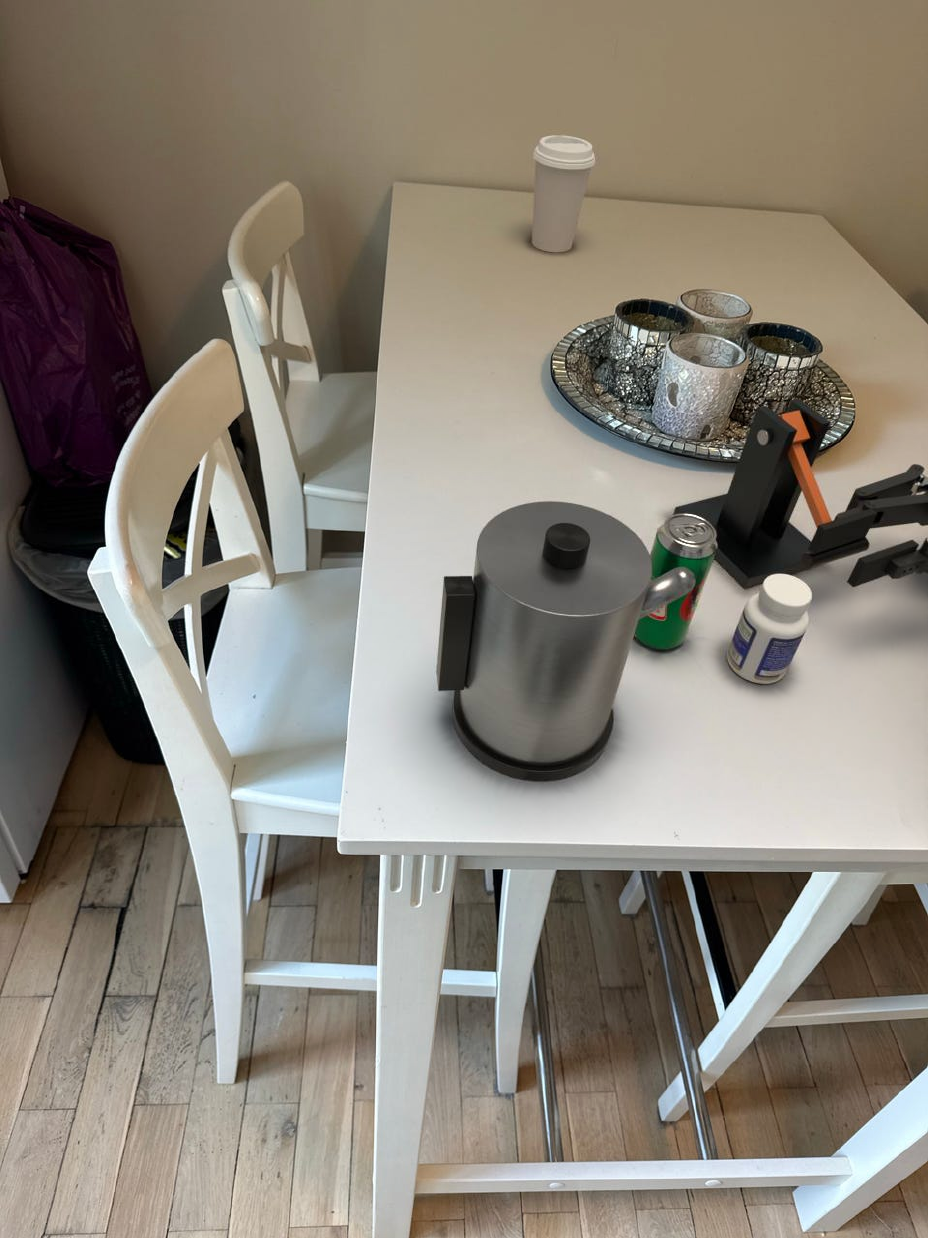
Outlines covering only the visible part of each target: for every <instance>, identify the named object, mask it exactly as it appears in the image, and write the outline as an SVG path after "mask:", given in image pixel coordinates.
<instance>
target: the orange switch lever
mask: <svg viewBox="0 0 928 1238" xmlns="http://www.w3.org/2000/svg"><path fill="white" fill-rule="evenodd" d="M779 416H780V417H781V418H782V419H784V420H785V421H786V422H787V423H789V424H790V425H791V426H793V427H794V428H795V429H796V430H797V433H796V435H795V438H794V440H793V443H792V445H791V448H790V450H789V453H788V456H789V459H790V461H791V464H792V467H793V469H794V472H795V474H796V477H797V479H798V482H799V484H800V487H801V489H802V491H801V493H802V494H803V497H804V499H805V503H806V504H807V507H808V510H809V512H810V515H811V517H812V520H813V522H814V525H815V527H816V529H817V528H818V526H819V525H821V524H824V523H827V522H830V521H833V520H832V517H831V514H830V513H829V510H828V507H827V505H826V502H825V500H824V497H823V495H822V492H821V490H820V487H819V485H818V482H817V479H816V477H815V475H814V472H813V470H812V468H811V467H810V464H809V462H808V459H807V457H806V454H805V452H804V449H803V447H802V444H801V443H803V442H804V441H806V440H808V439H809V438H810V436H809V433H808V431H807V428H806V426H805V423H804V421H803V418H802V416H801V413H800V411H794V412H790V413H786V412H785V413H781V414H779ZM869 548H870V541H869V539H868V538H867V536H866V537H864V538H861V539H858V540H855V541H852V542H849V543H846V544H843V545H840V546H837V547H834V548H831V549H828V550H825V551H822V552H819V553H816V554H813V553H812V552H807V553H804V554H803V555H802V556H801V564H802V565H803V567H805V568H807V569H806V570H809V569H813V568H815V567H819V566H822V565H826V564H828V563H829V564H830V563H832V562H836V561H838V560H841V559H845V558H847V557H850V556H854V555H858V554H860V553H863V552H866V551H868V550H869Z"/></svg>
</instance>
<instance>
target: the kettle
mask: <svg viewBox="0 0 928 1238" xmlns="http://www.w3.org/2000/svg"><path fill="white" fill-rule="evenodd" d="M475 549H476V550H475V557H474V558H475V559H474V566H473V567H474V568H473V576H472V575H444V576H443V584H442V597H441V606H440V607H441V609H440V621H439V635H438V645H437V658H436V671H435V672H436V673H435V675H436V682H437V683H436V684H437V691H438V692H452V691H453V699H452V721H453V726H454V728H455V731H456V733H457V736H458V737H459V739H460V741H461V742H462V743H463V745H464V746H465V748H466V749H467V750H468V751H469V752H470V753H471V755H473V757H475V758H476V759H478V760H479V762H481V763H482V764H484V765H485V766H487V767H489V768H490V769H492V770H494V771H496V772H498V773H500V774H503V775H505V776H509V777H511V778H515V779H519V780H525V781H532V782H533V781H534V782H547V781H558V780H561V779H566V778H569V777H572V776H574V775H576V774H579V773H581V772H583V771H585V770H586V769H588V768H589V767H590V766H592V765H593V764H594V763H595V762H596V761H597V760H599V758H600V757H601V755H602V754H603V753H604V752H605V751H606V748H607V746H608V744H609V741H610V738H611V735H612V733H613V728H614V721H615V719H614V709H613V706H614V702H615V699H616V696H617V692H618V689H619V686H620V684H621V679H622V677H623V674H624V673H623V672H624V671H625V667H626V664H627V663H626V662H627V661H628V660H627V659H628V656H629V653H630V649H631V646H632V643H633V640H634V637H635V635H634V633H635V630H636V627H637V623H638V620H639V619H641V618H643V617H645V616H646V615H648V614H650V613H652V612H654V611H656V610H658V609H659V608H661V607H663V606H665V605H667V604H669V603H671V602H672V601H674V600H676V599H678V598H680V597H682V596H684V595H685V594H687V593H689V592H690V591H691V590H692V589H693V588H694V586H695V576H694V574H693V572H692V571H691V570H690V569H688V568H685V567H677V568H674V569H673V570H671V571H669V572H667V573H665V574H664V575H662V576H660V577H658V578H656V579H654V580H653V581H651V582H650V580H651V577H652V561H651V558H650V552H649V550H648V548H647V546H646V545H645V543H644V541H643V540H642V539H641V538H640V536H638V535H637V533H636V532H634V530H633V529H631V528H630V527H629V526H628V525H626V523H623V522H622V521H621V520H619V519H617V518H616V517H613V516H612V515H610V514H608V513H605V512H604V511H601V510H599V509H596V508H593V507H590V506H587V505H582V504H578V503H574V502H566V501H555V500H554V501H553V500H551V501H550V500H546V501H534V502H527V503H523V504H518V505H516V506H513V507H510V508H508V509H505V510H503V511H501V512H500V513H498V514H496V515H495V516H494V517H493V518H491V519H490V520H489V521H488V522H487V523H486V525H485V526H484V527H483V528H482V530H481V531H480V533H479V535H478V539H477V543H476V548H475Z"/></svg>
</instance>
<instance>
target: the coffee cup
mask: <svg viewBox="0 0 928 1238" xmlns="http://www.w3.org/2000/svg"><path fill="white" fill-rule="evenodd" d="M593 149H594V148H593V145H592V144H591V142H589V141H587V140H586V139H583V138H579V137H577V136H571V135H562V134H561V135H559V134H556V135H555V134H554V135H547V136H544V137H542V138H540V140H539V143H538V144H537V146H536V147H535V149H534V150H533V153H532V158H533V160H535V161H534V163H535V164H534V189H533V206H532V207H533V208H532V210H533V211H532V230H531V244H532V246H533V247H534V248H535V249H537V250H540V251H543V252H548V253H557V254H558V253H565V252H568V251H570V250H571V249H572V248H573V247H572V246H573V243H574V238H575V234H576V231H577V226H578V223H579V218H580V214H581V210H582V205H583V203H584V199H585V194H586V190H587V186H588V181H589V177H590V174H591V170H592V168H593V167H594V166H595V165H596V156H595V153H594V151H593Z"/></svg>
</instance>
